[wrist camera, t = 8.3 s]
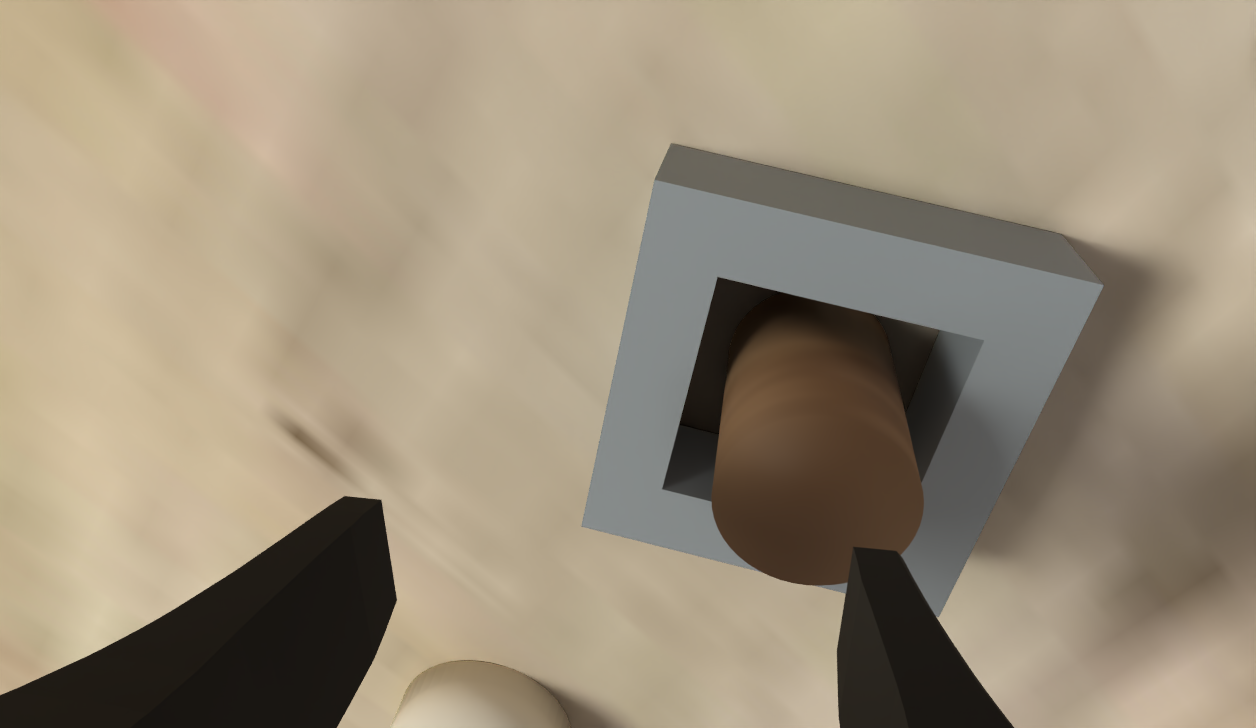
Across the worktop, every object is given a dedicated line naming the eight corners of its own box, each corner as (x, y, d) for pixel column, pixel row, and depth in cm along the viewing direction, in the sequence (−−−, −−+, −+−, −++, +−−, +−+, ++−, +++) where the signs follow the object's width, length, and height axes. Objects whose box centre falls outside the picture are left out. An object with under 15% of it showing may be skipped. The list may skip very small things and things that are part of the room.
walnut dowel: (922, 328, 21) (966, 470, 16) (841, 451, 23) (857, 613, 18) (771, 261, 21) (767, 383, 16) (703, 391, 23) (679, 537, 18)
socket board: (1061, 234, 20) (1104, 285, 17) (921, 538, 24) (938, 617, 21) (671, 143, 20) (654, 179, 18) (602, 459, 24) (581, 526, 22)
